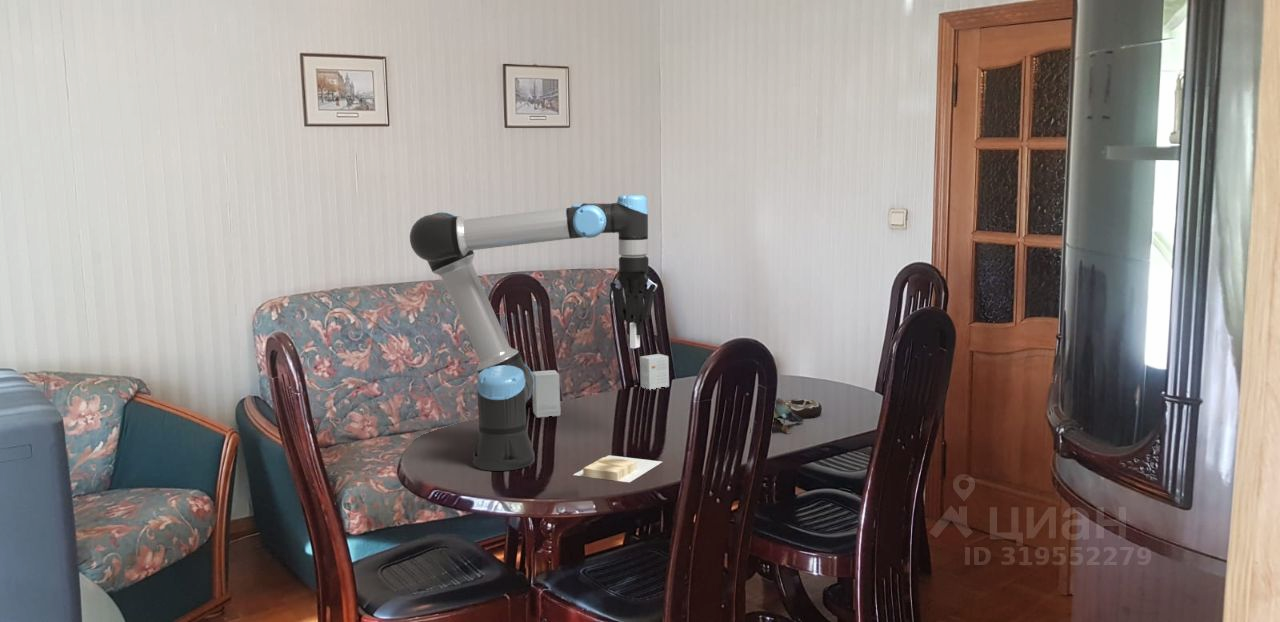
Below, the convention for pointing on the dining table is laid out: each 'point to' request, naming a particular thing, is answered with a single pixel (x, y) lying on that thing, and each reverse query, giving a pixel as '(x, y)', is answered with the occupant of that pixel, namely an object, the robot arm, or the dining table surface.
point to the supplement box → (546, 393)
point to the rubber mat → (641, 469)
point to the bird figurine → (784, 415)
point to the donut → (804, 407)
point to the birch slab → (610, 469)
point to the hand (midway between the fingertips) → (635, 347)
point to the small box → (654, 371)
